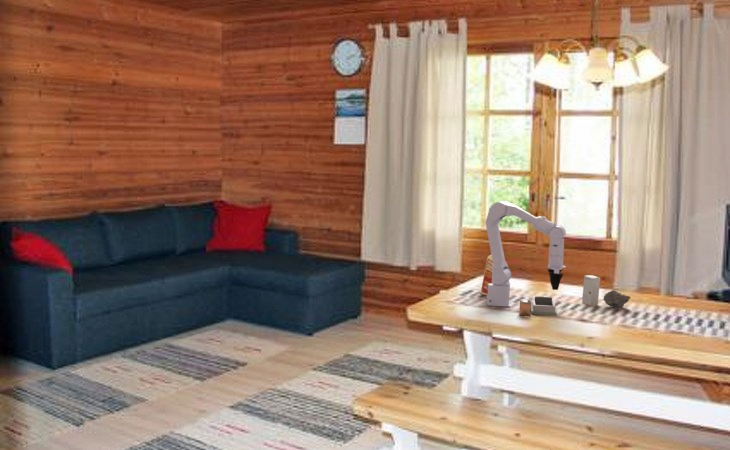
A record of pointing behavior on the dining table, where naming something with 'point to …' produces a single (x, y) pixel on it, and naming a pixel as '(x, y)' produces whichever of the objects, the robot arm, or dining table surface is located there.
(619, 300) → the fossil
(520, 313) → the spout can
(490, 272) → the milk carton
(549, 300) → the grey green open box
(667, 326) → the dining table surface
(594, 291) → the skincare box
